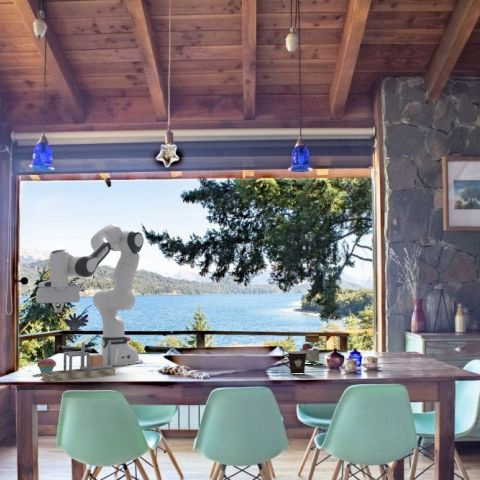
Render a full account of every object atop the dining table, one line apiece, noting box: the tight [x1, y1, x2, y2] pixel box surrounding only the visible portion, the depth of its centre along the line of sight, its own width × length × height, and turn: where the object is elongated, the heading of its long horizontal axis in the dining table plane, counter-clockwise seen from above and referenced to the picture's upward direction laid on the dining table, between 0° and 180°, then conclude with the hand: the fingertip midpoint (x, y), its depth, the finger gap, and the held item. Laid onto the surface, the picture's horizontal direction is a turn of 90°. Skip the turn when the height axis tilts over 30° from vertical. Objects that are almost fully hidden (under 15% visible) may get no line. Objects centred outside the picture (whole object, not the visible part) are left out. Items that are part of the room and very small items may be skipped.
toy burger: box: [299, 333, 323, 365], centre depth 313 cm, size 12×13×15 cm
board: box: [42, 366, 116, 382], centre depth 277 cm, size 31×10×3 cm, turn 123°
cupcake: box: [36, 348, 57, 375], centre depth 286 cm, size 9×8×12 cm
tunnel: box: [63, 350, 90, 374], centre depth 277 cm, size 9×10×8 cm
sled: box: [79, 341, 113, 370], centre depth 282 cm, size 14×5×12 cm, turn 123°
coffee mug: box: [279, 350, 307, 374], centre depth 283 cm, size 12×9×10 cm
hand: (58, 312), depth 286 cm, fingers closed
